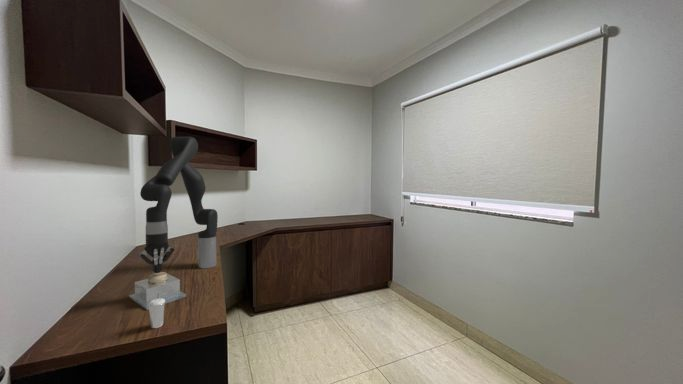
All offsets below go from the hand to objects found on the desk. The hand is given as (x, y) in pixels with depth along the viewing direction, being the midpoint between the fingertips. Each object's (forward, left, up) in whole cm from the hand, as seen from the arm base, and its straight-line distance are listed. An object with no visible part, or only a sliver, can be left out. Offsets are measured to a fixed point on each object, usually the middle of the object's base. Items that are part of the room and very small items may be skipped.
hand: (157, 272), depth 107 cm
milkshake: (+24, -9, -11) cm, 28 cm away
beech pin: (0, 0, -9) cm, 9 cm away
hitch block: (0, 0, -11) cm, 11 cm away
